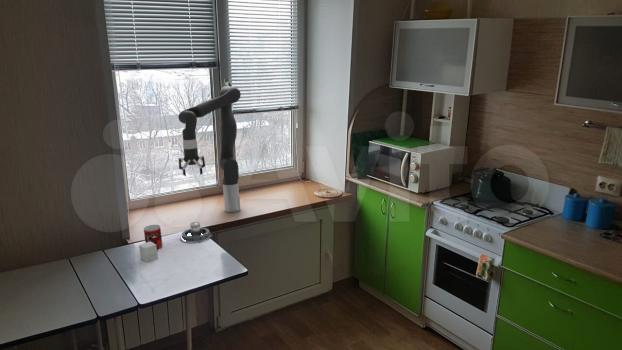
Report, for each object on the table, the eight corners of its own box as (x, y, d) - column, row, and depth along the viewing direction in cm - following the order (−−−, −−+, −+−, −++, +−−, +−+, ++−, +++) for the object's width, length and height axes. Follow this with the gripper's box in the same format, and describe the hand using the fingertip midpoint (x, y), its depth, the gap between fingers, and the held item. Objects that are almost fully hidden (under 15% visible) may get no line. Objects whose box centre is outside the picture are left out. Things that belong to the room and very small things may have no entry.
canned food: (143, 249, 233) (140, 229, 231) (153, 243, 241) (150, 223, 238) (155, 251, 231) (153, 231, 228) (165, 245, 238) (163, 225, 235)
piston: (200, 233, 251) (199, 221, 249) (201, 236, 246) (200, 224, 244) (191, 234, 249) (189, 222, 248) (191, 238, 245) (190, 225, 243)
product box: (158, 258, 223) (156, 244, 221) (146, 262, 219) (144, 248, 217) (152, 254, 227) (150, 241, 225) (140, 259, 223) (138, 244, 221)
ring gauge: (210, 229, 257) (209, 225, 257) (212, 240, 243) (212, 235, 242) (180, 233, 253) (179, 229, 252) (180, 244, 238) (180, 240, 238)
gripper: (202, 144, 264) (205, 172, 268) (176, 146, 260) (179, 174, 264) (203, 147, 257) (206, 175, 261) (177, 149, 253) (180, 178, 257)
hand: (193, 175), depth 262 cm, fingers open, 8 cm apart
